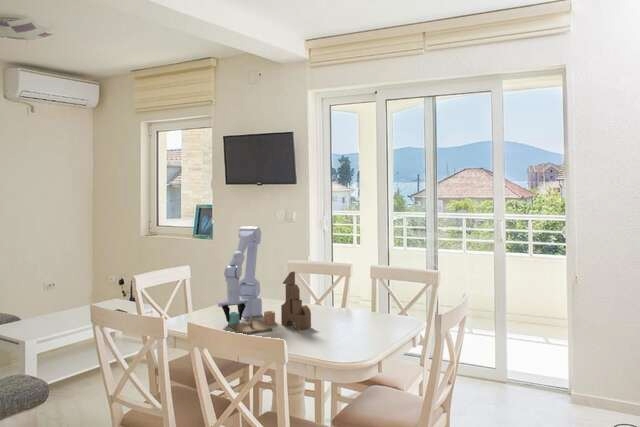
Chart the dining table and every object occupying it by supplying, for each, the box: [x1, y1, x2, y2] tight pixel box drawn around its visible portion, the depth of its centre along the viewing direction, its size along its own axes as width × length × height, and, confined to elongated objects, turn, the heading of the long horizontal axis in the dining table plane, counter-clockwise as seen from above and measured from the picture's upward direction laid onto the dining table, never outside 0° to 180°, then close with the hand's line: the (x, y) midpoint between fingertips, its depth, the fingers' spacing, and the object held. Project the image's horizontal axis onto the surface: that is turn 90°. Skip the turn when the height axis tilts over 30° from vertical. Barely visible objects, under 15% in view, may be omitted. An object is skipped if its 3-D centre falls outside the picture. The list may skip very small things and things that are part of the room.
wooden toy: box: [280, 271, 312, 331], centre depth 224 cm, size 16×7×25 cm, turn 42°
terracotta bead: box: [263, 310, 276, 325], centre depth 231 cm, size 5×5×5 cm
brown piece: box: [229, 314, 273, 335], centre depth 221 cm, size 14×16×7 cm
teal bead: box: [227, 311, 241, 326], centre depth 230 cm, size 5×5×5 cm
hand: (233, 320), depth 230 cm, fingers closed on teal bead, 5 cm apart
